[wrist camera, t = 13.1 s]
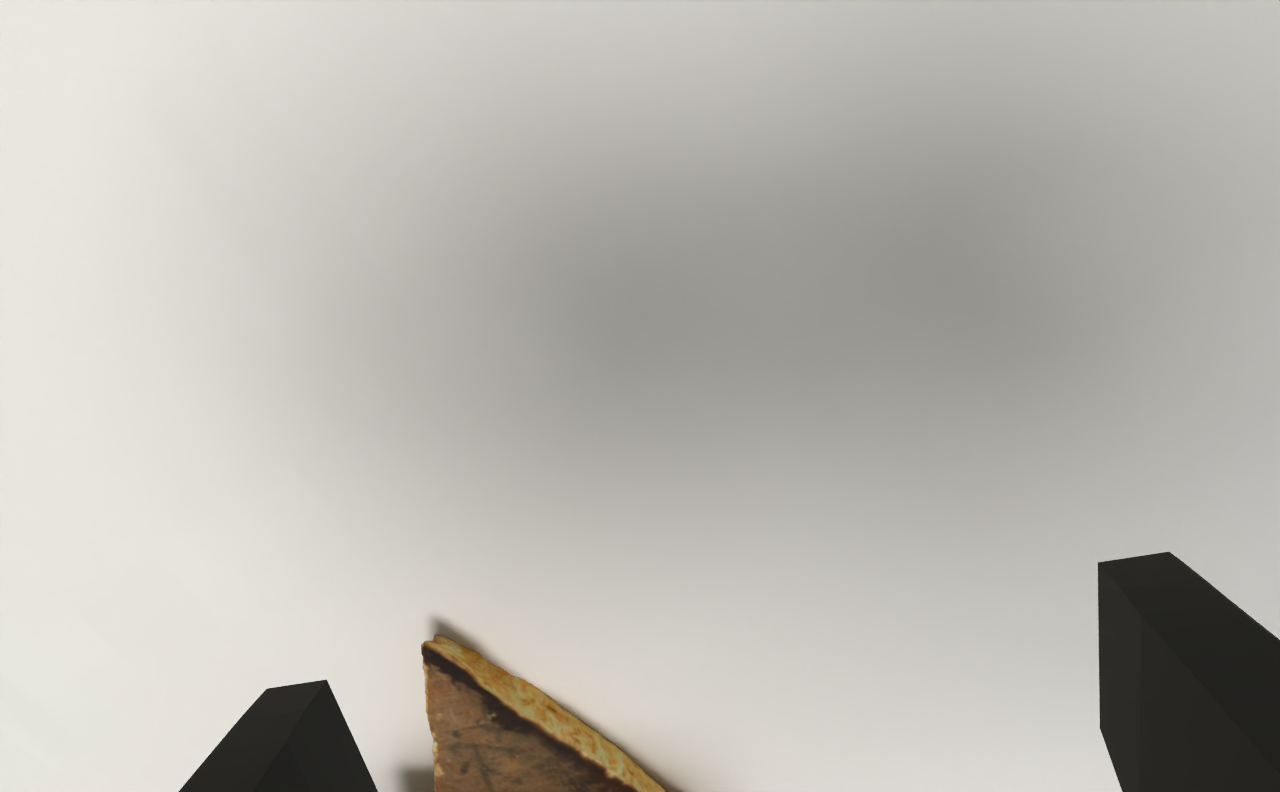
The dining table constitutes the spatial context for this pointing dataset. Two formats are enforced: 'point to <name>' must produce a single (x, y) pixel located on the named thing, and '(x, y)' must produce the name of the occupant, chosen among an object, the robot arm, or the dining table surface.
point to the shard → (512, 733)
